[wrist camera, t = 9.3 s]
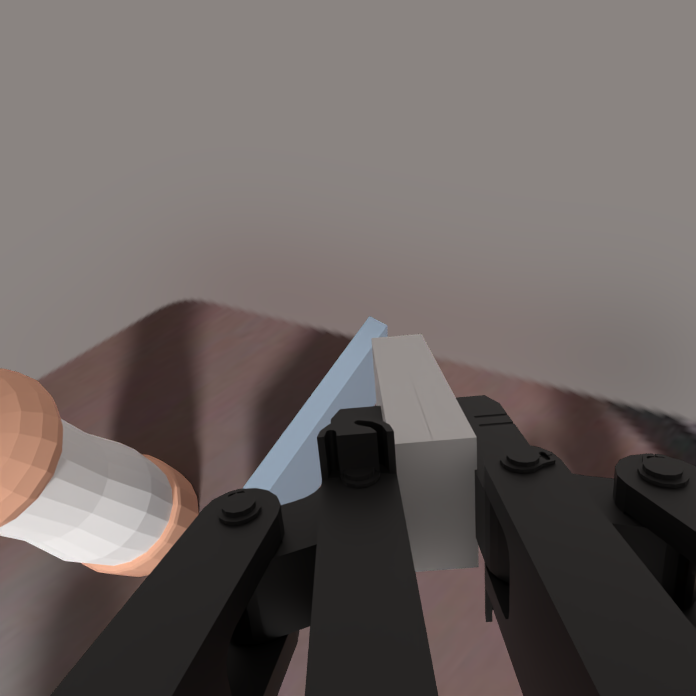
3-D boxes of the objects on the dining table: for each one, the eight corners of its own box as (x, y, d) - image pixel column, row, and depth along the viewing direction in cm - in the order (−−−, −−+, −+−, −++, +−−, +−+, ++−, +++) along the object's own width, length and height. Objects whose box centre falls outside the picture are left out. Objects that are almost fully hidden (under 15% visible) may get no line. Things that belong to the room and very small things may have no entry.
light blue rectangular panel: (260, 576, 31) (217, 564, 23) (243, 563, 31) (197, 547, 24) (388, 385, 36) (388, 325, 28) (373, 376, 36) (368, 315, 29)
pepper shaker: (202, 461, 36) (36, 328, 19) (194, 572, 32) (-17, 529, 16) (103, 470, 36) (-149, 346, 19) (85, 581, 33) (-241, 548, 16)
